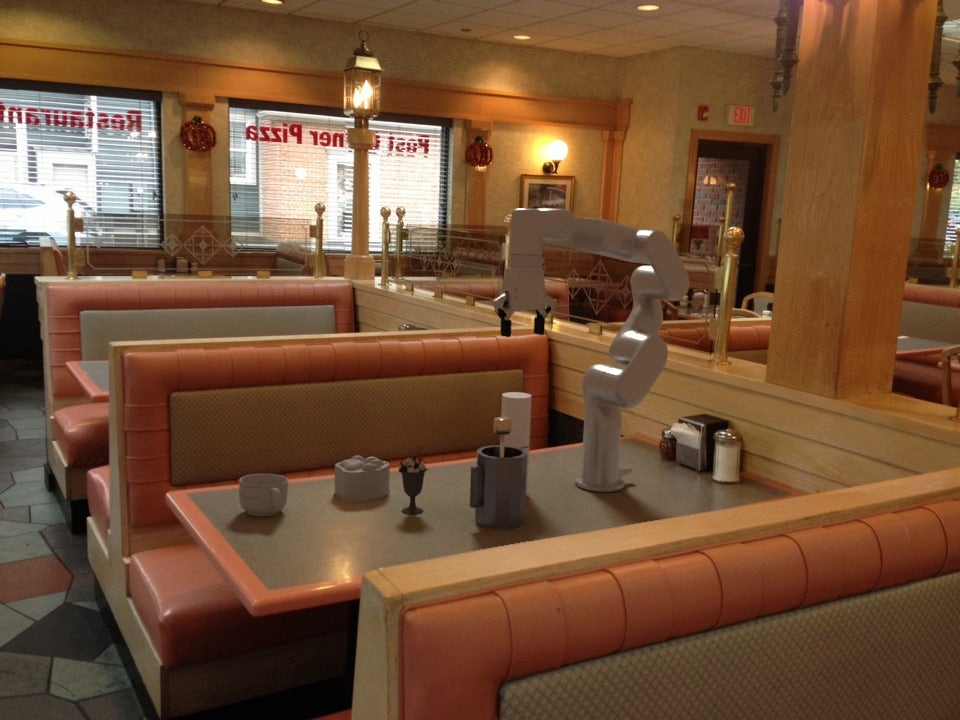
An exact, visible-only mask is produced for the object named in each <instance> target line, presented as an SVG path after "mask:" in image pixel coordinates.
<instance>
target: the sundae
mask: <svg viewBox="0 0 960 720" xmlns="http://www.w3.org/2000/svg"><path fill="white" fill-rule="evenodd" d="M422 449H423V447H422V446H421V447H419V448H418V450H417V451H416V453H413V454H411V455H410V456H409V457H407V458H406V460H405V461H404V463H403V462H402V461H400V462H399V463H400V466H399V467H398V473H400V474H401V476H402V477H401V478H402V486H403V492H404V493H405V494H406V495H407V496H408V497H409V506H406V507H403V508H402V509H401V512H402V513H403V514H405V515H409V514H416V515H420V514H422V513H423V512H424V509H422V508H421V507H417V504H416V498H417V497H418V495H420V494H421V493H422V489H423V485H424V479H425V473H426V472H427V471H428V468H427V467H426V464H425V462H424V461H422V460H423V457H422V456H421V450H422ZM417 454H418V455H419V456H417ZM419 513H420V514H419Z"/></svg>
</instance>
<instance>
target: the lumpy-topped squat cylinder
mask: <svg viewBox="0 0 960 720" xmlns="http://www.w3.org/2000/svg"><path fill="white" fill-rule="evenodd" d="M390 467H391V466H390V462H388V461H386V460H384V459H379V458H378V457H376V456H368V457H366V458H364V457H363V456H361V455H358V454H357V455H353V456H352V457H351V458H350V459H344V460H342V461H340V462H337V463H335V465H334V495H336V496H337V497H339V498H340V499H341V500H342V501H344V502H349V503H350V502H353V503H355V502H356V503H357V502H365V501H371V500H377V499H381V498H383V496H384V497H385V495H386V496H387V495H388V494H389V493H390V476H391V475H390V474H391V473H390V471H391V470H390V469H391V468H390Z"/></svg>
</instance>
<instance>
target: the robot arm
mask: <svg viewBox="0 0 960 720" xmlns="http://www.w3.org/2000/svg"><path fill="white" fill-rule="evenodd" d="M509 235H510V236H509V256H508V257H509V259H508V261H509V262H508V263H509V264H508V267H506V268H505V270H504V274H503V279H502V285H501V286H502V287H501V295H499V296H498V297H495V299H493V300H492V301H491V304H492V306H493V308H494V313H495V314H496V315H497V316H498V319H500V336H501V337H505V338H511V336H512V319H510V318H511V317H512V316H513V314H514V313H515V312H516V313H517V312H533V313H534V315H535V316H534V320H533V322H534V323H533V333H534V334H535V335H539V336H544V335H545V326H546V324H545V321H546V319H547V318H548V315H549V313H550V312H551V311H552V307H553V305H554V303H555V299H554V298H553V297H551V296H550V295H549V294H547V293H546V282H545V281H546V279H545V273H544V268H542V265H543V264H544V263H545V262H546V261H545V260H546V259H545V257H543V243H548V244H551V245H552V244H553V245H555V246H560V247H565V248H570V249H573V250H577V251H581V252H585V253H590V254H596V255H599V256H603V257H609V258H612V259H615V260H619V261H625V262H629V263H635V264H644V265H641V266H638V267H636V268H635V269H634V270H633V272H632V275H631V277H630V290H631V293H632V300H633V301H632V302H633V304H632V308H631V309H632V310H631V311H630V314H629V316H628V317H627V319H626V321H625V322H624V324H623V325H622V327H621V328H620V330H619V331H618V332H617V334H616V336H615V337H614V338H613V340H612V342H611V343H610V345H609V349H608V355H609V358H610V360H611V361H612V362H613V363H615V364H616V365H618V366H616V365H612V364H608V363H596V364H592V365H591V366H589V367H588V368H587V369H586V370H585V372H584V373H583V376H582V381H581V383H582V385H581V386H582V395H583V396H582V397H583V401H584V402H583V403H584V405H583V406H584V418H583V435H582V436H583V437H582V456H581V457H582V458H581V474H580V475H577V476H576V477H575V479H574V484H575V486H577V487H578V488H581V489H583V490H586V491H591V492H596V493H597V492H599V493H601V492H602V493H608V492H609V493H610V492H617V491H620V490H622V489H624V487H625V481H624V480H623V479H622V477H623V476H627V475H631V474H632V473H633V469H632V468H631V467H630V466H628V467H621V466H620V455H621V441H622V440H621V438H622V428H623V427H622V426H623V425H622V424H623V423H622V420H623V419H622V418H623V416H622V411H621V408H622V409H623V408H624V409H632V408H633V409H634V408H635V407H637V406H639V405H640V404H641V402H642V401H644V399H645V398H646V396H647V395H648V393H649V392H650V391H651V388H652V387H653V386H654V384H655V382H656V381H657V380H658V378H659V377H660V375H661V373H662V372H663V370H664V368H665V366H666V364H667V361H668V356H669V355H668V354H669V350H668V345H667V343H666V341H665V340H664V339H663V338H661V337H660V336H659V335H657V334H658V333H659V331H660V329H661V328H662V325H663V322H664V311H663V307H662V302H661V301H666V302H676V301H679V300H682V299H684V298H685V297H686V295H687V294H688V292H689V288H690V277H689V274H688V271H687V270H686V267H685V265H684V262H683V261H682V259H681V257H680V255H679V254H678V252H677V250H676V247H675V246H674V243H673V242H672V240H671V239H670V238H669V237H668V235H667V234H666V233H665V232H663V231H662V230H658V229H644V228H636V227H632V226H629V225H625V224H621V223H617V222H614V221H610V220H607V219H602V218H596V217H595V218H594V217H579V216H576V215H575V214H574V213H573V212H571V211H570V210H569V209H565V208H551V207H549V208H545V207H542V208H540V207H539V208H538V207H537V208H523V207H522V208H514V209H513V210H512V211H511V214H510V234H509ZM646 264H647V265H646Z"/></svg>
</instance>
